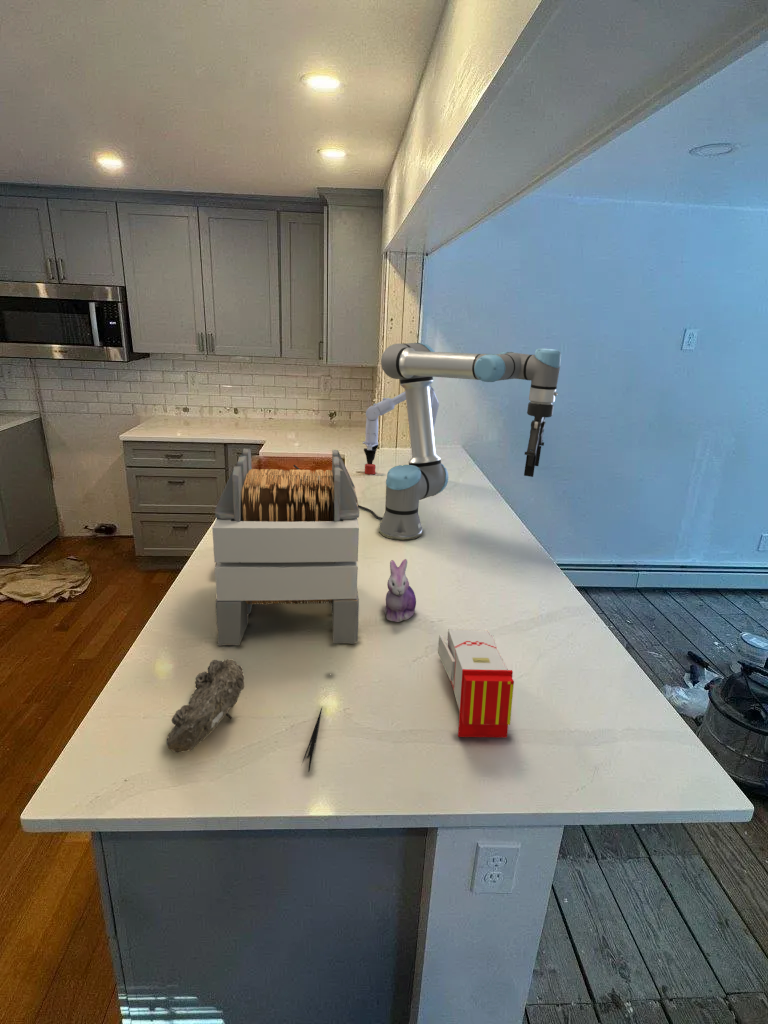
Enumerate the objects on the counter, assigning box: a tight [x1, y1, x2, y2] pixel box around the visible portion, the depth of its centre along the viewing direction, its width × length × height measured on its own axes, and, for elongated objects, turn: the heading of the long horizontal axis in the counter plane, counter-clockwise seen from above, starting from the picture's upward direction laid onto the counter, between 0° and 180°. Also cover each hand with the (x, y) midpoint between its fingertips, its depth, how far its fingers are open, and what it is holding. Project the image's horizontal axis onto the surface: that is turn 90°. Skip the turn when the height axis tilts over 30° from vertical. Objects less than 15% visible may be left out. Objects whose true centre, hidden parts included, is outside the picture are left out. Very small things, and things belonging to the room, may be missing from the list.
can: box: [364, 463, 376, 476], centre depth 271 cm, size 5×5×4 cm
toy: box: [437, 628, 515, 738], centre depth 117 cm, size 12×13×30 cm
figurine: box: [384, 558, 417, 623], centre depth 145 cm, size 9×10×15 cm
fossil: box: [166, 658, 245, 754], centre depth 106 cm, size 22×10×15 cm
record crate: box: [212, 448, 360, 647], centre depth 140 cm, size 34×33×41 cm
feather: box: [301, 673, 332, 771], centre depth 108 cm, size 2×28×2 cm
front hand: (531, 470), depth 177 cm, fingers open, 13 cm apart
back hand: (370, 461), depth 263 cm, fingers open, 7 cm apart
